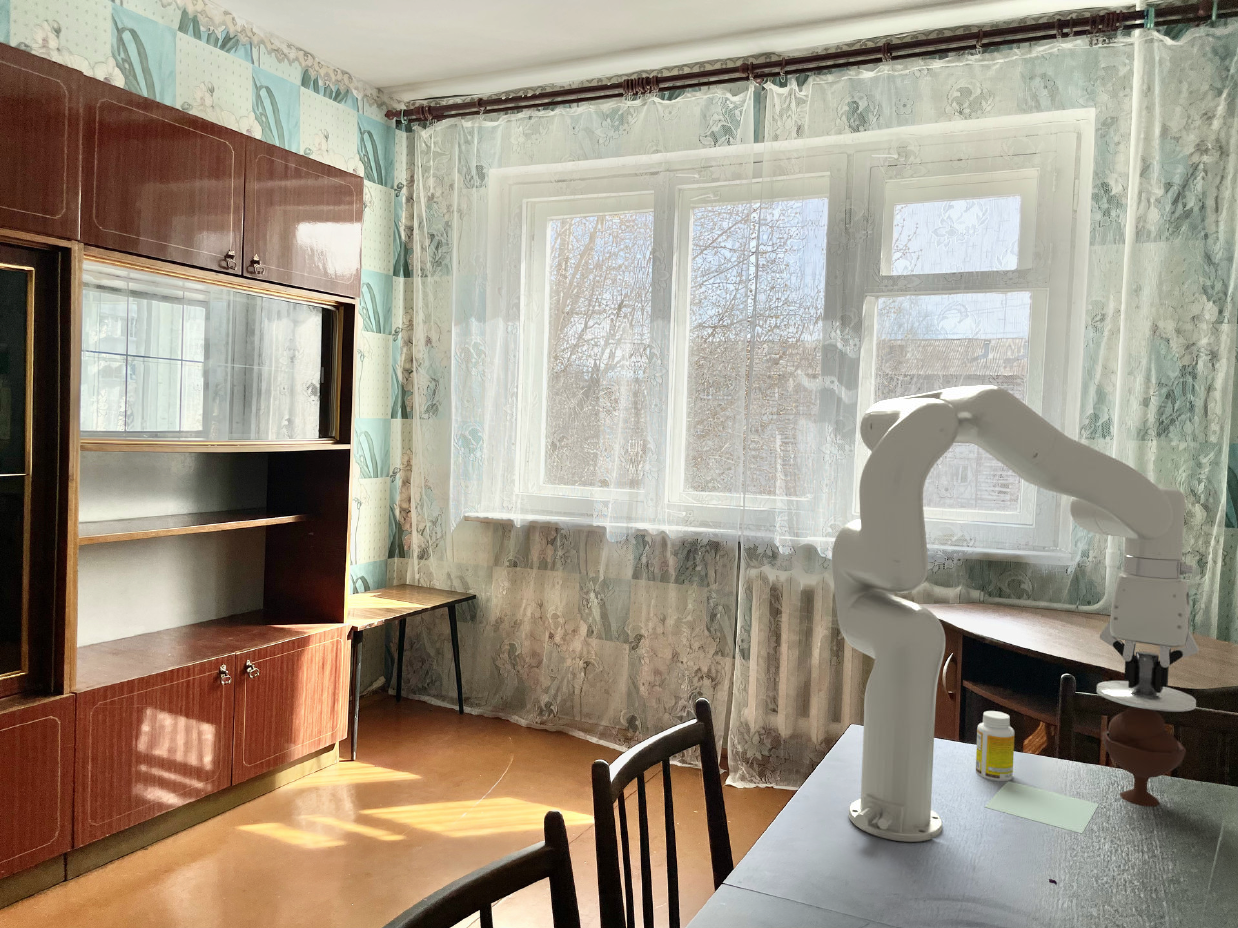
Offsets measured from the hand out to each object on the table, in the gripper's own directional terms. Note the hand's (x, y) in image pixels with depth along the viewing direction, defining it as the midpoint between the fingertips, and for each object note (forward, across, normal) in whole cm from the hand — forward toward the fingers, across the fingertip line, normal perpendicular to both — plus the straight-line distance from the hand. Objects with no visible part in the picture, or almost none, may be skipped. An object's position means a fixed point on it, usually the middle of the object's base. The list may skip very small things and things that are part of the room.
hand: (1145, 687), depth 135 cm
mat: (+18, +11, +13) cm, 25 cm away
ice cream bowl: (+18, 0, 0) cm, 18 cm away
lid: (+2, 0, 0) cm, 2 cm away
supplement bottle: (+18, +20, +5) cm, 27 cm away
